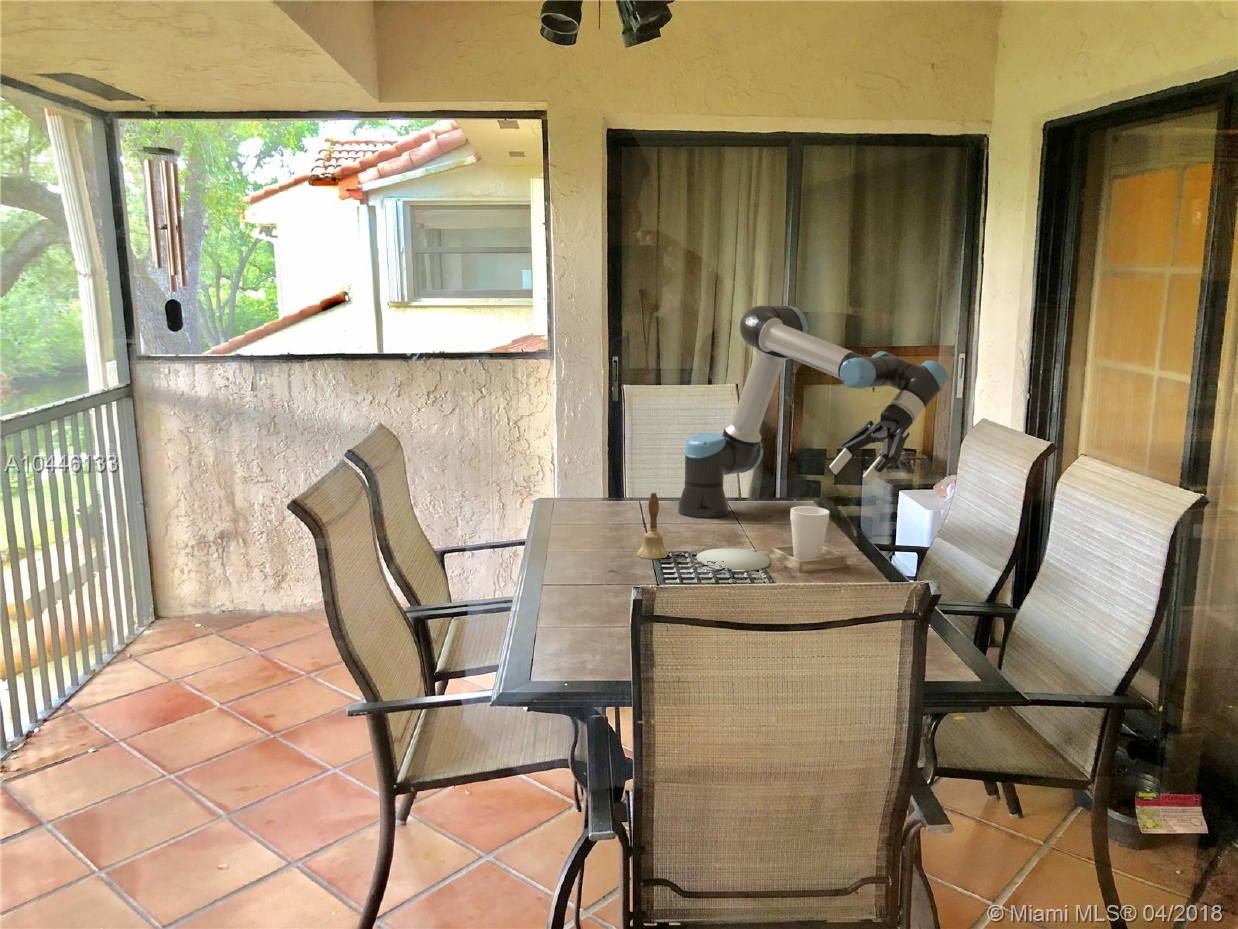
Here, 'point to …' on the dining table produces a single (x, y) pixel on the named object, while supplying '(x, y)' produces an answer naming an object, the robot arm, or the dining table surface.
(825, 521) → the foam cup
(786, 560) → the cup socket
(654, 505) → the hand bell
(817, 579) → the dining table surface
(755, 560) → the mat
